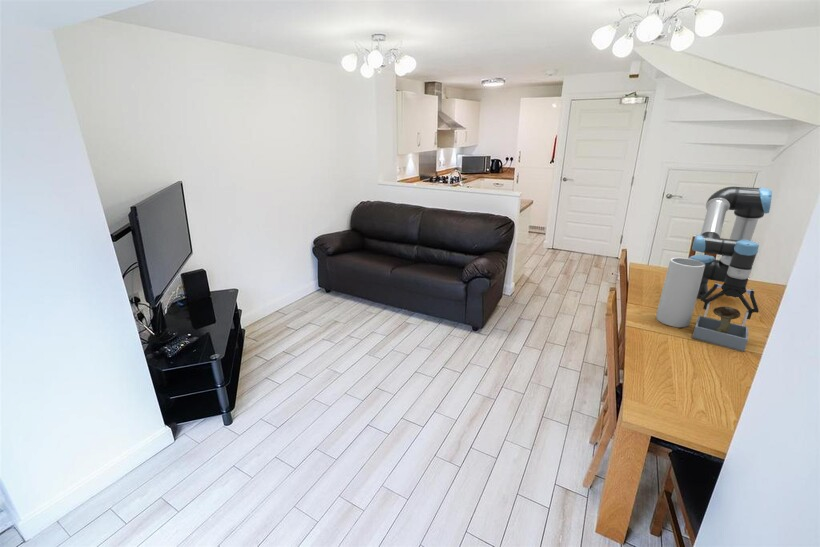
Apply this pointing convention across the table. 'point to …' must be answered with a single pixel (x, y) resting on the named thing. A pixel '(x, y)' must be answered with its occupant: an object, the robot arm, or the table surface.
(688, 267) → the vase
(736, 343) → the bin
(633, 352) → the table surface
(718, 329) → the mushroom
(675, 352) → the table surface
